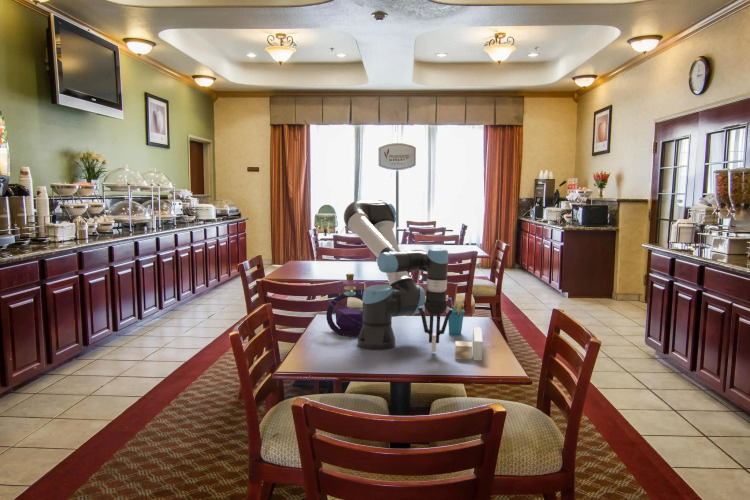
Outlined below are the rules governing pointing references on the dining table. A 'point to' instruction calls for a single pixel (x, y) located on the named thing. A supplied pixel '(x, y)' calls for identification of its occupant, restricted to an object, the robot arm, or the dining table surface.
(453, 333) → the cup
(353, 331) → the decorative bottle
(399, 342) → the dining table surface
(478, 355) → the board
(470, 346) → the birch block
